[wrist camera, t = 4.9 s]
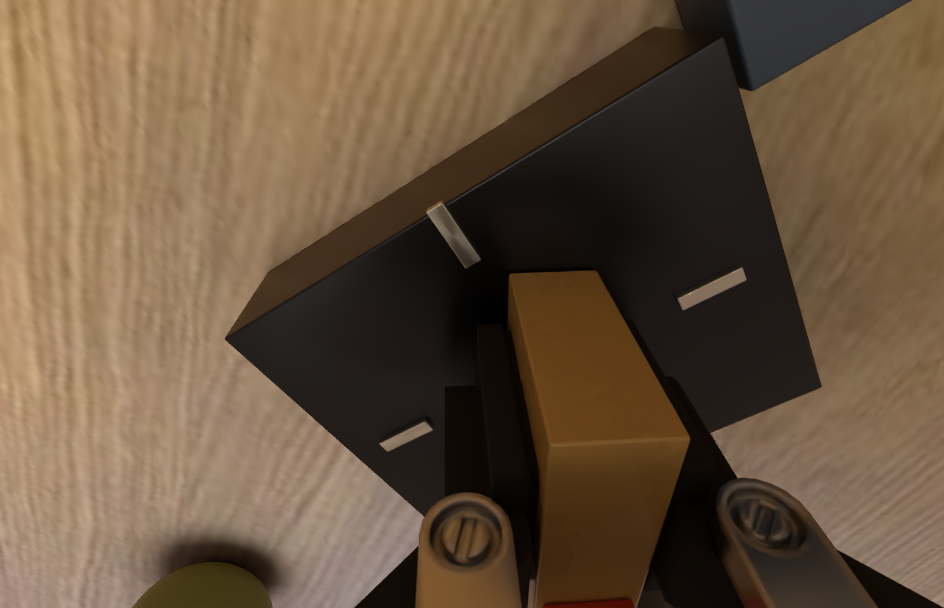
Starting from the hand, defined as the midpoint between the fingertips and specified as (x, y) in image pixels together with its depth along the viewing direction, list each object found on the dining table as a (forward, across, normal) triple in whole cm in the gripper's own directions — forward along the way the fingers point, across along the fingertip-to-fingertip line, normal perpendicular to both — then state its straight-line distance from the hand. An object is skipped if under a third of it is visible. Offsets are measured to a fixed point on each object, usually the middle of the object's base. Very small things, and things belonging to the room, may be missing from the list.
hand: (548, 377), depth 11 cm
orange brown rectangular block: (0, 0, 0) cm, 0 cm away
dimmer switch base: (+3, 0, 0) cm, 3 cm away
